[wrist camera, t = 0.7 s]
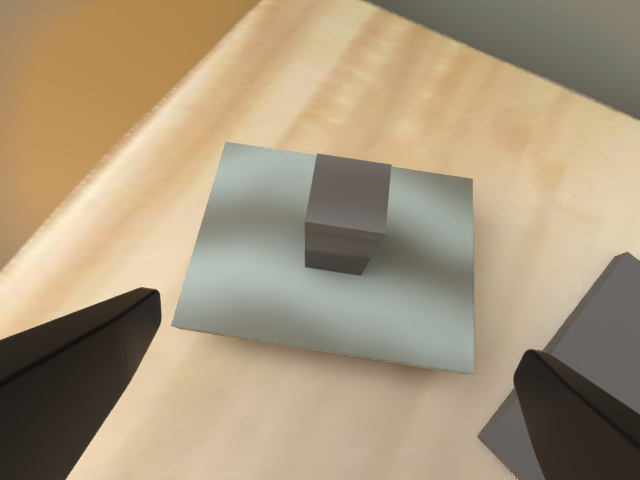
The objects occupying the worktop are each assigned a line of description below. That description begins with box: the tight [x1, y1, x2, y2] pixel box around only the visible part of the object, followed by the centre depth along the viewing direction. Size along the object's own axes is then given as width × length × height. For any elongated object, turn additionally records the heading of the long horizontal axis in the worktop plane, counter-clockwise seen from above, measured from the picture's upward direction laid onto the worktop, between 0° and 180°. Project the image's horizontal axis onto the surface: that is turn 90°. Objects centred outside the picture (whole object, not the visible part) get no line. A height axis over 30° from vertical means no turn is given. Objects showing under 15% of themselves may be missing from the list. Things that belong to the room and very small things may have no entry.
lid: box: [171, 142, 474, 374], centre depth 17 cm, size 11×15×8 cm
